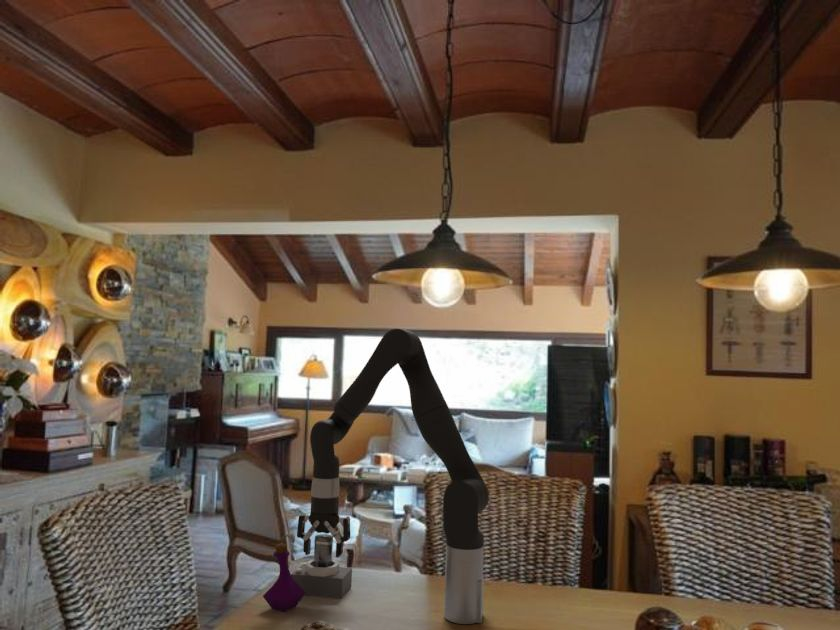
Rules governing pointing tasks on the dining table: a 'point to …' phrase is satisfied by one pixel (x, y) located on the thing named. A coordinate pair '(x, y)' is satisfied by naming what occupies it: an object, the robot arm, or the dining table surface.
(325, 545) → the lens
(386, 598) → the dining table surface
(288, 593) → the perfume bottle
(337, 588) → the camera body
